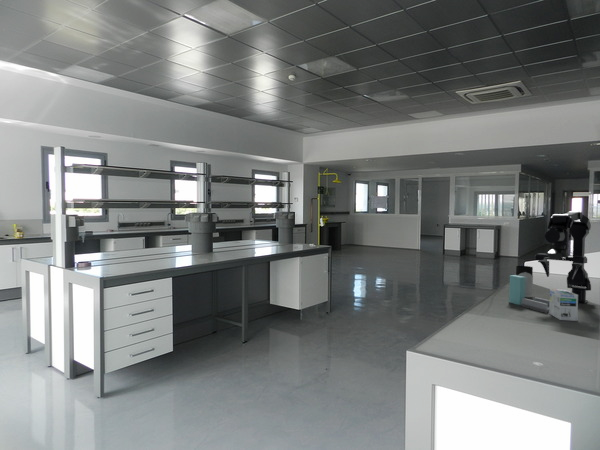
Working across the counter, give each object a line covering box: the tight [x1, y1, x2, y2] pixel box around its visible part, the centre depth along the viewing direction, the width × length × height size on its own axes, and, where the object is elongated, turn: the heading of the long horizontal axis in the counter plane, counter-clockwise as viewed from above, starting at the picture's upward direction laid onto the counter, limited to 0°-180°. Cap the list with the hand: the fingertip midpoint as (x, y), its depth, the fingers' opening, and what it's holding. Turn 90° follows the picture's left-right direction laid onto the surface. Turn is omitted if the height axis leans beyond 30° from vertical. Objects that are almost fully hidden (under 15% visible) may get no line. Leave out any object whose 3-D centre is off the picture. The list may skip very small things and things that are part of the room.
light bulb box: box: [548, 288, 579, 322], centre depth 162 cm, size 11×7×11 cm, turn 168°
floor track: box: [520, 296, 550, 314], centre depth 177 cm, size 12×9×4 cm
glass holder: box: [515, 265, 534, 298], centre depth 208 cm, size 9×14×15 cm, turn 158°
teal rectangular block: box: [508, 274, 526, 306], centre depth 187 cm, size 6×3×13 cm, turn 18°
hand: (559, 277), depth 173 cm, fingers open, 9 cm apart
